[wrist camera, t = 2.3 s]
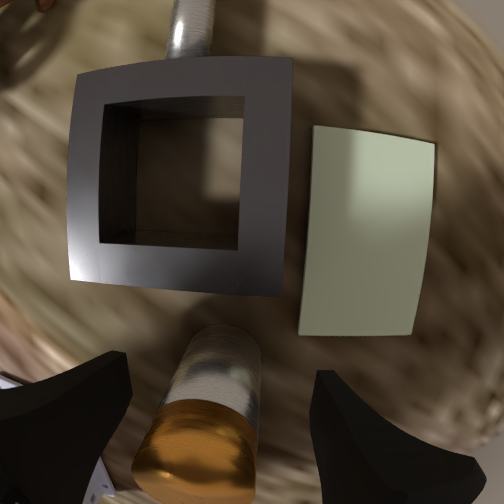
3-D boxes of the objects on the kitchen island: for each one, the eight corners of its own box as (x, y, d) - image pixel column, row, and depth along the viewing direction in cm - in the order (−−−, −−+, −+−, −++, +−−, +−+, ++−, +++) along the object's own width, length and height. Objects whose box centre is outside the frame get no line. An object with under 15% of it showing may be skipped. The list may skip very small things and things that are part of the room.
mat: (407, 330, 12) (411, 334, 12) (297, 330, 12) (298, 335, 12) (429, 145, 11) (434, 144, 10) (312, 127, 11) (313, 125, 10)
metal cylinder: (259, 389, 13) (252, 519, 6) (189, 382, 13) (143, 503, 6) (263, 326, 12) (258, 458, 6) (186, 320, 13) (119, 437, 6)
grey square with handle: (277, 270, 12) (281, 297, 9) (109, 259, 12) (70, 279, 9) (288, -24, 9) (292, -66, 6) (136, -14, 10) (111, -46, 7)
